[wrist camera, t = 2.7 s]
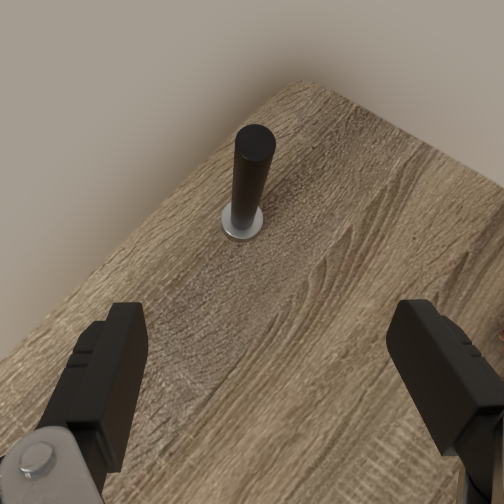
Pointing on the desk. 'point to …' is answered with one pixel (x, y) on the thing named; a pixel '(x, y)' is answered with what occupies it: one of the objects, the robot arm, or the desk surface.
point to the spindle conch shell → (501, 336)
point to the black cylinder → (248, 183)
